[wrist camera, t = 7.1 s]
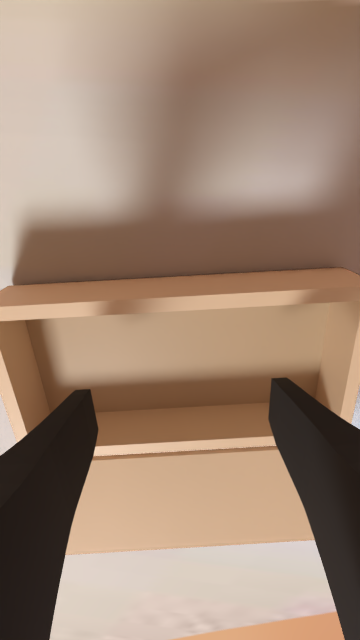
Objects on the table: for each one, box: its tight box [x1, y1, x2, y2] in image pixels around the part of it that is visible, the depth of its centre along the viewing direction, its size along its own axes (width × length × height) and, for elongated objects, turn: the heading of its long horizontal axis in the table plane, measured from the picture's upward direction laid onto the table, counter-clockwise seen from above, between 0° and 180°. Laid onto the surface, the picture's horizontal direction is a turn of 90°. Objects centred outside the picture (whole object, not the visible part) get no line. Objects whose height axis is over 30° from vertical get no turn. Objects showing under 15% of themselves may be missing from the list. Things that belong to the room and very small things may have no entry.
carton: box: [0, 267, 360, 456], centre depth 15 cm, size 8×16×3 cm, turn 93°
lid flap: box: [65, 446, 315, 555], centre depth 15 cm, size 4×15×1 cm, turn 92°
